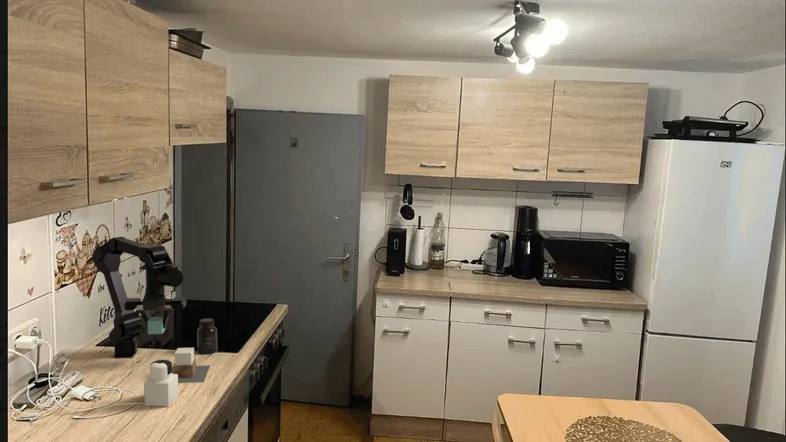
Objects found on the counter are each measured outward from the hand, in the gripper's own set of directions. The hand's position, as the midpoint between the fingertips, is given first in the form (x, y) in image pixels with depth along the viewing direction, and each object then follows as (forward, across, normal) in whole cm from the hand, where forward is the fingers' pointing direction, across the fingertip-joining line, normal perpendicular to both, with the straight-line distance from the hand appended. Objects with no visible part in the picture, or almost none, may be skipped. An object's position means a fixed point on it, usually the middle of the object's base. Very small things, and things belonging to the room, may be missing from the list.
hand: (156, 328), depth 196 cm
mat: (+13, +11, -11) cm, 20 cm away
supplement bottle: (+13, +15, +10) cm, 22 cm away
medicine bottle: (+13, +8, -30) cm, 34 cm away
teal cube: (+1, 0, 0) cm, 1 cm away
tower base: (+12, +11, -11) cm, 20 cm away
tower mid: (+8, +11, -11) cm, 17 cm away
